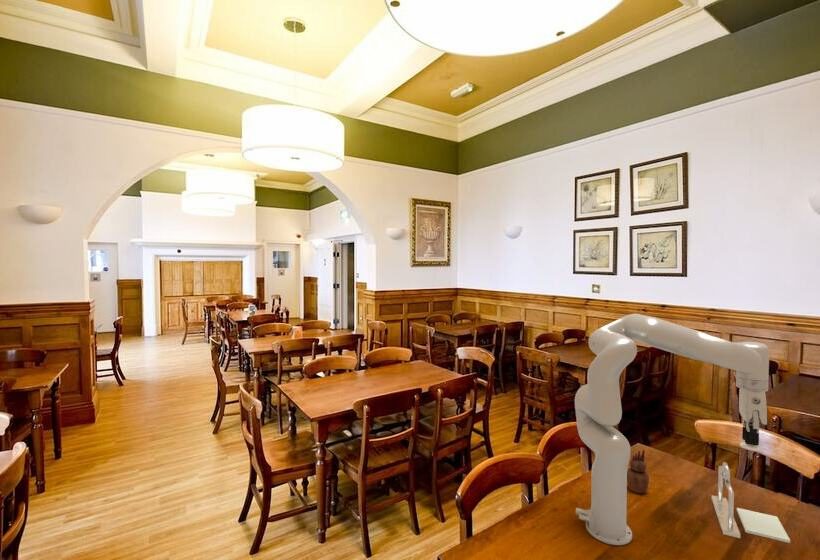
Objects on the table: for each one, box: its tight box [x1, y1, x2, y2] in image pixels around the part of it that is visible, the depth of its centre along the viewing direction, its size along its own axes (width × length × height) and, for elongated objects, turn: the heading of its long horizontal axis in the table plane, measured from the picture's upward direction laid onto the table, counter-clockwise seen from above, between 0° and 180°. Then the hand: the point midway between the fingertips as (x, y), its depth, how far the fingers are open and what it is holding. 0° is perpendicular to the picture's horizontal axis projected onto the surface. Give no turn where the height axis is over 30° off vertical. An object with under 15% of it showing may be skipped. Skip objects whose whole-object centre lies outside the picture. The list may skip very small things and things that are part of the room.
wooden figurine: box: [627, 449, 650, 494], centre depth 142 cm, size 7×6×15 cm
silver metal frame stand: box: [711, 461, 741, 539], centre depth 127 cm, size 4×20×17 cm, turn 151°
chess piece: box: [739, 420, 762, 452], centre depth 123 cm, size 5×5×10 cm
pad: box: [736, 507, 791, 544], centre depth 123 cm, size 10×12×1 cm
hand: (750, 441), depth 124 cm, fingers closed on chess piece
